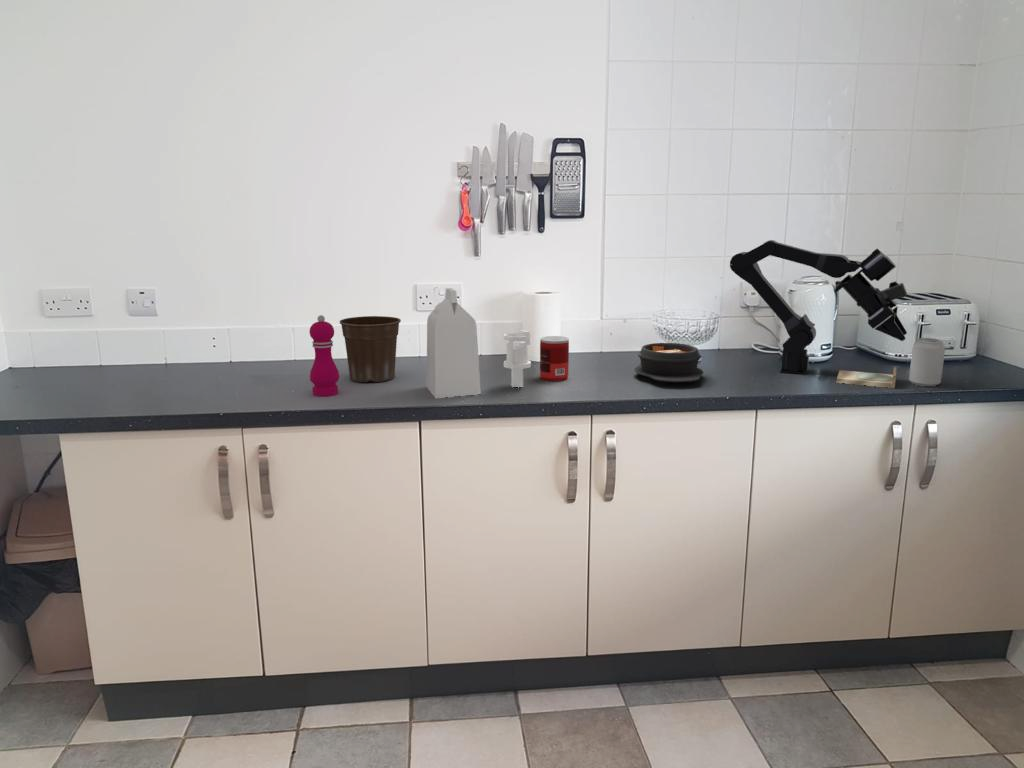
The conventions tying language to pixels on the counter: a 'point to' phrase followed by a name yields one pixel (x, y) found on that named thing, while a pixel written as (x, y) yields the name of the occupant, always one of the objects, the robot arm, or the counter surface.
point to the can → (927, 362)
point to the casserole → (669, 362)
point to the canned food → (554, 358)
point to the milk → (452, 350)
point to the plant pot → (371, 347)
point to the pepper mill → (323, 359)
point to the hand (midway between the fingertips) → (904, 337)
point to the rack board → (867, 378)
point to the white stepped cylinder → (517, 355)
